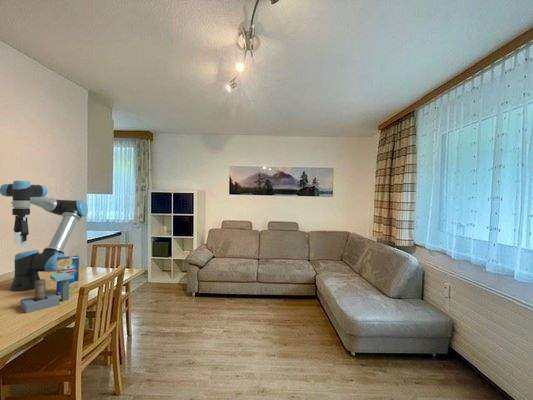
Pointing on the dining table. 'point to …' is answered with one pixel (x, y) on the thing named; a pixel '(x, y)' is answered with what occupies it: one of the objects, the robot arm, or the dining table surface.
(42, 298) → the walnut peg
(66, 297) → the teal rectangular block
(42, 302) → the socket block
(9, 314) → the dining table surface
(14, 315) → the dining table surface
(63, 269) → the beverage box
